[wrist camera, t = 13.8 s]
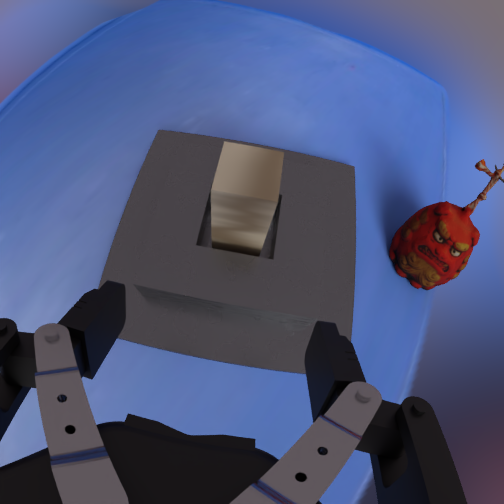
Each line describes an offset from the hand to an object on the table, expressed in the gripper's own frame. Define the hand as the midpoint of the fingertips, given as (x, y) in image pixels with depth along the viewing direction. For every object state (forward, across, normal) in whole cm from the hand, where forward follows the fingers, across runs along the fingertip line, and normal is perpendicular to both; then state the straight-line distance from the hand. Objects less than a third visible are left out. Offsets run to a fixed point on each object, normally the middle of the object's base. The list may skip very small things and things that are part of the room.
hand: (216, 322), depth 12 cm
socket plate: (+17, 0, +2) cm, 17 cm away
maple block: (+16, 0, +2) cm, 16 cm away
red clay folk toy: (+18, -19, +1) cm, 26 cm away
